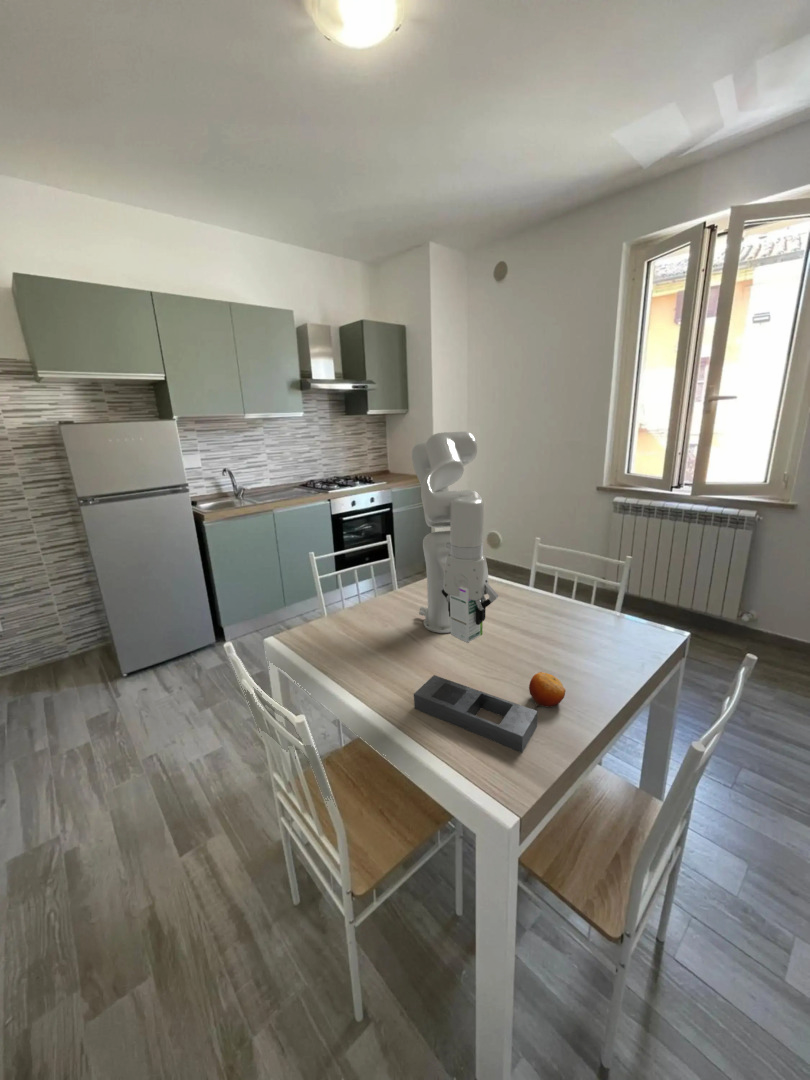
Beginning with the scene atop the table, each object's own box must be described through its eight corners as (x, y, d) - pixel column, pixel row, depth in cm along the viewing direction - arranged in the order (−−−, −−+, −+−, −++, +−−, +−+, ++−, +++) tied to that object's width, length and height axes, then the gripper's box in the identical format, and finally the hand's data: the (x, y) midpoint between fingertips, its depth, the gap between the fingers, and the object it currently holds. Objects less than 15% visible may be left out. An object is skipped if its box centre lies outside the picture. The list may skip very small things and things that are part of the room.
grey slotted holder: (414, 708, 100) (413, 693, 98) (434, 688, 107) (434, 674, 105) (522, 753, 85) (522, 736, 84) (537, 726, 92) (537, 710, 91)
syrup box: (467, 644, 102) (468, 588, 98) (449, 635, 106) (449, 581, 102) (482, 635, 106) (483, 581, 101) (464, 626, 110) (464, 575, 105)
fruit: (516, 688, 103) (533, 662, 101) (542, 700, 104) (560, 674, 103) (528, 709, 95) (547, 681, 94) (556, 722, 97) (575, 694, 95)
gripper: (426, 549, 101) (428, 616, 106) (494, 561, 91) (492, 634, 97) (442, 540, 107) (443, 604, 112) (508, 551, 97) (505, 621, 103)
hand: (466, 618), depth 104 cm, fingers closed on syrup box, 6 cm apart
